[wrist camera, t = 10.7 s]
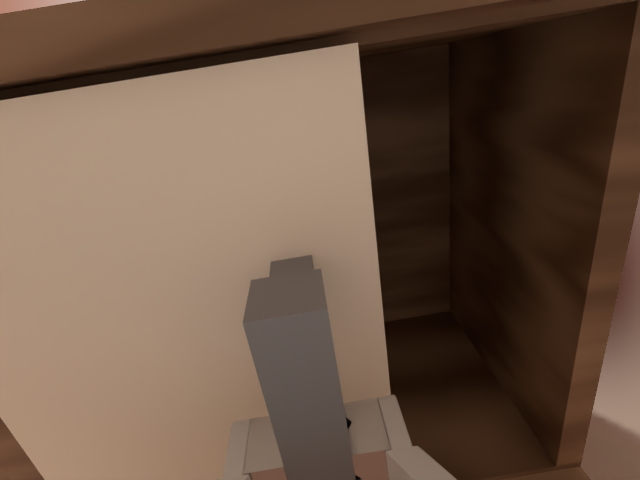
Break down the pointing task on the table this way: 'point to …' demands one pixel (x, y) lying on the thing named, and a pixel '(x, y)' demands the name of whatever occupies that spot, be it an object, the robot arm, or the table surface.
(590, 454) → the table surface
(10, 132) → the sliding door
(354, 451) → the robot arm
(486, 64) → the cabinet
